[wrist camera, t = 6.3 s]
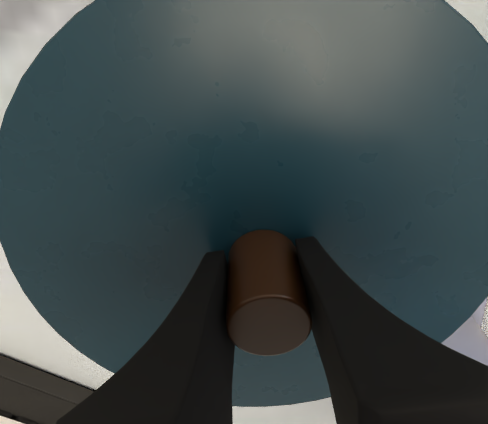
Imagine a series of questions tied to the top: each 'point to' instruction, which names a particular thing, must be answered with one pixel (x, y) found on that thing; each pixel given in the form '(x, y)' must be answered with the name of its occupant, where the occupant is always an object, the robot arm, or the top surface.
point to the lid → (248, 172)
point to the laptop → (35, 395)
